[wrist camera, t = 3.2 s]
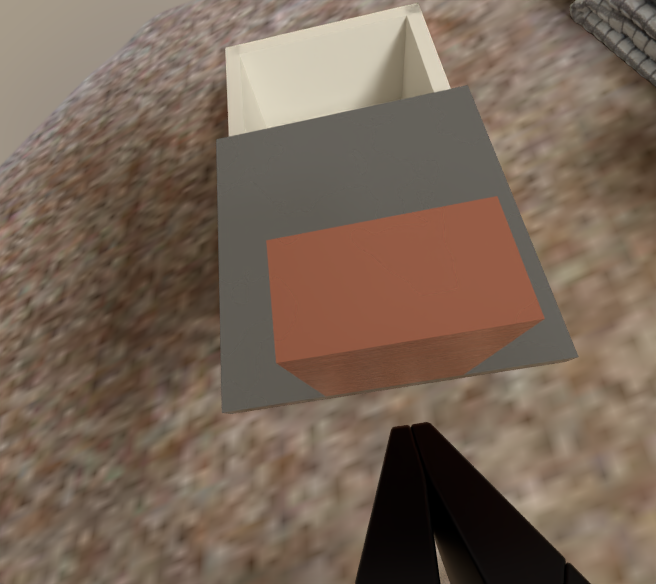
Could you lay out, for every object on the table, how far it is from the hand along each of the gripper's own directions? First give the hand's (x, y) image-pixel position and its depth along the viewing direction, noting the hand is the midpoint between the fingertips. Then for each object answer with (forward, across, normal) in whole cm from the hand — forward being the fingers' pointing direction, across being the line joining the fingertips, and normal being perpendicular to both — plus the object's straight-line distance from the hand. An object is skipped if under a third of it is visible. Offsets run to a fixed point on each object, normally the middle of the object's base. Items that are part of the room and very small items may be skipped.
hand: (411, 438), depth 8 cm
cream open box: (+18, 0, -4) cm, 19 cm away
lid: (+8, 0, -2) cm, 8 cm away
